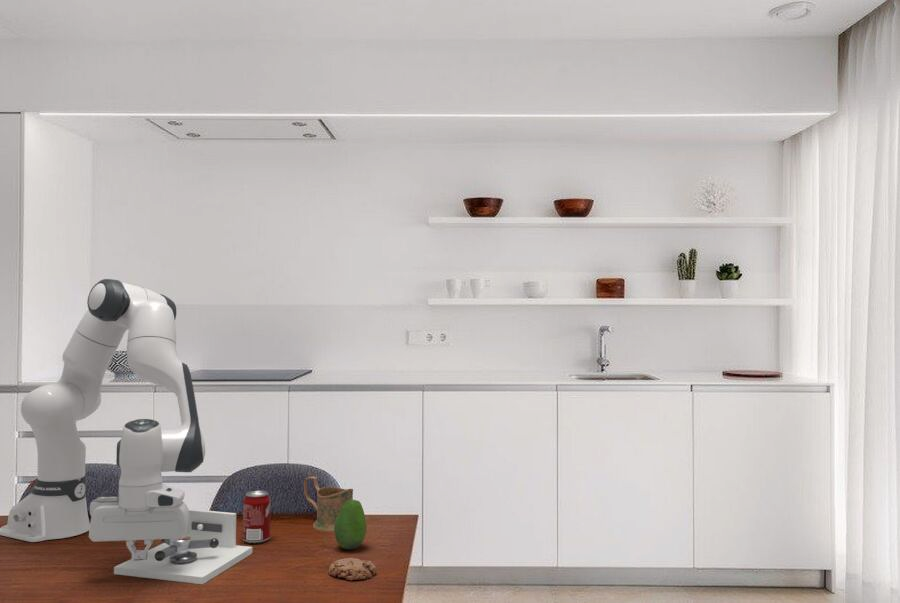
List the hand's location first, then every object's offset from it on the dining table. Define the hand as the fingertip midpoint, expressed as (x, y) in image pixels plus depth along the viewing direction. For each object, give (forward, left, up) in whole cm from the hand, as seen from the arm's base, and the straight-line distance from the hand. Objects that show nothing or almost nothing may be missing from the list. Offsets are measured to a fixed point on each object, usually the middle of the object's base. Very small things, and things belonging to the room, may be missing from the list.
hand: (139, 559), depth 159 cm
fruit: (+36, +32, -4) cm, 48 cm away
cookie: (+43, +16, -5) cm, 46 cm away
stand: (+4, +12, -4) cm, 13 cm away
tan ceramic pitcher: (+22, +50, -4) cm, 55 cm away
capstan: (+4, +7, -2) cm, 8 cm away
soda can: (+11, +31, -4) cm, 33 cm away
